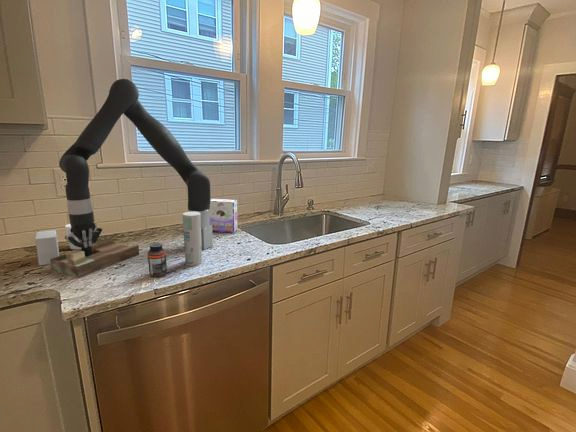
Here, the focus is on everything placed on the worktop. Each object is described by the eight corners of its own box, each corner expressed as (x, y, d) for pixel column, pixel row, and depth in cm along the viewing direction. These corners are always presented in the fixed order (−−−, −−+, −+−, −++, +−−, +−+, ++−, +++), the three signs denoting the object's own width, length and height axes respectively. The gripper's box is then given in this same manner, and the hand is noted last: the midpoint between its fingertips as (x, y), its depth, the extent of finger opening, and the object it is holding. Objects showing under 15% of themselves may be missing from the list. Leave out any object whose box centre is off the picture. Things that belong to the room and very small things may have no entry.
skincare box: (60, 262, 120) (56, 236, 118) (38, 266, 117) (34, 239, 114) (60, 253, 128) (56, 229, 126) (40, 257, 125) (35, 231, 122)
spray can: (205, 263, 124) (203, 213, 119) (190, 267, 119) (187, 216, 114) (197, 258, 128) (194, 210, 123) (182, 262, 124) (179, 213, 119)
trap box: (139, 254, 130) (138, 245, 129) (78, 278, 108) (76, 267, 107) (114, 248, 136) (113, 239, 135) (51, 269, 114) (50, 259, 113)
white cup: (94, 245, 139) (91, 223, 136) (77, 251, 132) (74, 228, 129) (81, 242, 141) (78, 221, 139) (63, 248, 134) (60, 226, 132)
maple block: (85, 261, 115) (84, 251, 114) (74, 265, 112) (73, 255, 111) (78, 259, 117) (77, 249, 116) (67, 263, 114) (65, 253, 113)
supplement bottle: (152, 270, 116) (150, 241, 113) (169, 270, 116) (167, 241, 113) (146, 278, 110) (144, 247, 107) (164, 277, 110) (162, 247, 108)
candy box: (237, 230, 167) (237, 199, 163) (234, 233, 162) (233, 201, 158) (213, 228, 170) (212, 197, 165) (208, 231, 164) (207, 200, 160)
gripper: (68, 216, 106) (76, 264, 111) (104, 208, 118) (110, 251, 122) (54, 213, 109) (62, 260, 114) (91, 205, 121) (97, 248, 125)
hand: (87, 255), depth 118 cm, fingers closed
